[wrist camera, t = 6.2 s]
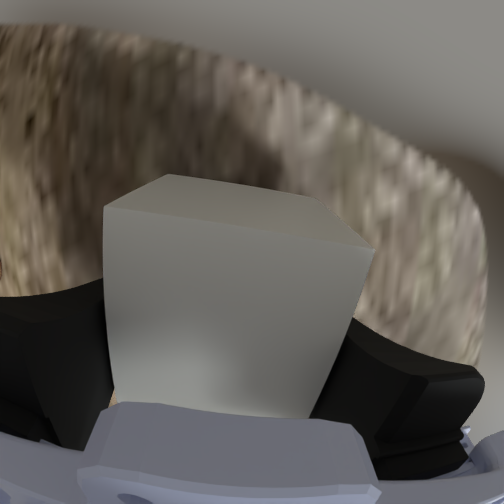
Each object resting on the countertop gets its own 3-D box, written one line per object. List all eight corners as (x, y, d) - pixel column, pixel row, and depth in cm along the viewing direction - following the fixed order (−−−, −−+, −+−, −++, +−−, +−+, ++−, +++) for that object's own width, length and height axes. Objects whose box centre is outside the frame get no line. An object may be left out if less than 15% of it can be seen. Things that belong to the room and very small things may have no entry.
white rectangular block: (315, 198, 12) (375, 249, 6) (270, 371, 15) (281, 467, 9) (167, 173, 11) (104, 205, 6) (157, 354, 14) (126, 447, 9)
